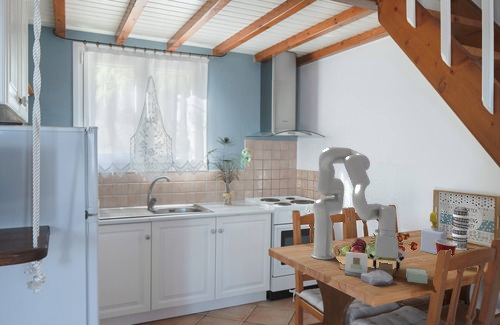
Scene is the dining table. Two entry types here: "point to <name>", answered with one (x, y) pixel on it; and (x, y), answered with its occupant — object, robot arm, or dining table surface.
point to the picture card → (356, 264)
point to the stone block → (377, 277)
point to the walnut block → (386, 268)
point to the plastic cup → (445, 245)
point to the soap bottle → (431, 236)
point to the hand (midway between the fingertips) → (386, 269)
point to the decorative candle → (460, 227)
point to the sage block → (416, 275)
